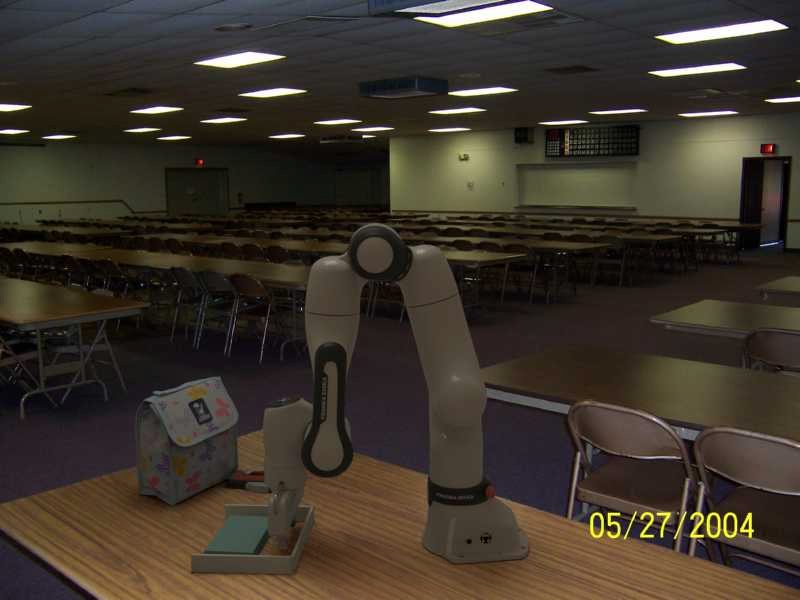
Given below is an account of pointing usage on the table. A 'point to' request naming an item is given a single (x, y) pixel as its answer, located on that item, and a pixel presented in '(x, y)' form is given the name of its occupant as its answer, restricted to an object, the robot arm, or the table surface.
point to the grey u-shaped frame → (255, 562)
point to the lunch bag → (186, 440)
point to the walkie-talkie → (248, 480)
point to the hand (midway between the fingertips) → (287, 536)
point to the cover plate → (240, 536)
